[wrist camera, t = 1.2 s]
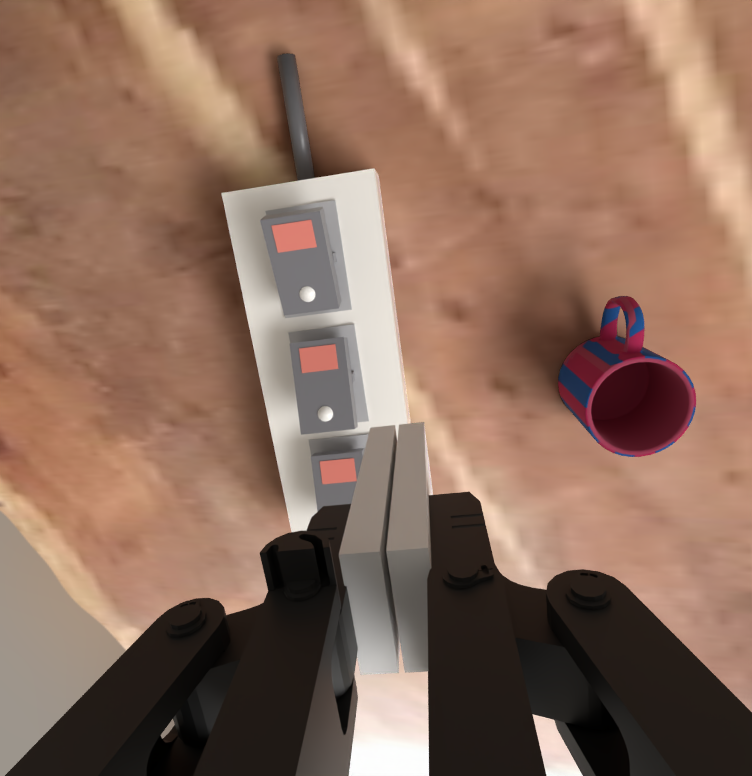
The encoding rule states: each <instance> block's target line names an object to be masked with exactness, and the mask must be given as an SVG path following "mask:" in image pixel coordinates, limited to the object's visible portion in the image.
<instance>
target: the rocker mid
mask: <svg viewBox="0 0 752 776" xmlns="http://www.w3.org/2000/svg"><path fill="white" fill-rule="evenodd" d="M290 352H291V360H292V368H293V376H294V384H295V392H296V400H297V408H298V415H299V423H300V431H301V435H304V434H313V433H323V432H332V431H342V430H351V429H356V428H357V427H358V423H357V414H356V406H355V398H354V390H353V381H352V373H351V365H350V356H349V348H348V340H347V337H338V338H330V339H323V340H315V341H307V342H299V343H291V344H290Z"/></svg>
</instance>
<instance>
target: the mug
mask: <svg viewBox="0 0 752 776" xmlns="http://www.w3.org/2000/svg"><path fill="white" fill-rule="evenodd" d="M620 307H621V308H622V310H623V312H624V315H625V320H626V339H625V338H622V337H618V336H617V320H618V314H619V310H620ZM643 341H644V318H643V313H642V310H641V308H640V306H639V305H638V303H637V302H636V301H635V300H634V299H633V298H631V297H628V296H619V297H615V298H611V299H610V300H609V301H608V302H607V304H606V306H605V309H604V312H603V317H602V323H601V330H600V337H595V338H592V339H590V340H587V341H585V342H584V343H582V344H580V345H579V346H577V347H576V348H575V349H574V350H573V351H572V352H571V353H570V354H569V355H568V356H567V358H566V359H565V361H564V362H563V365H562V367H561V369H560V373H559V377H558V387H559V393H560V396H561V399H562V400H563V402H564V404H565V405H566V407H567V408H568V409H569V410H570V411H571V412H572V413H573V415H574V416H575V417H576V418H577V419H578V420H579V422H580V423H581V424H582V425H583V426H584V427H585V429H586V430H587V431H588V432H589V433H590V434H591V435H592V437H593V438H594V439H595V440H596V441H597V442H598V444H600V445H601V446H602V447H604V448H605V449H607V450H609V451H611V452H612V453H615V454H619V455H622V456H629V457H641V456H646V455H651V454H654V453H657V452H660V451H662V450H664V449H666V448H668V447H669V446H670V445H672V444H673V443H675V442H676V441H677V440H678V439H679V438H680V437H681V436H682V435H683V434H684V432H685V431H686V430H687V428H688V427H689V425H690V423H691V421H692V419H693V416H694V413H695V407H696V393H695V389H694V386H693V383H692V381H691V379H690V378H689V376H688V375H687V374H686V372H685V371H684V370H683V369H682V368H680V367H679V366H678V365H677V364H675V363H673V362H671V361H669V360H668V359H666V358H664V357H662V356H660V355H658V354H656V353H654V352H652V351H650V350H648V349H646V348H644V347H642V346H643Z"/></svg>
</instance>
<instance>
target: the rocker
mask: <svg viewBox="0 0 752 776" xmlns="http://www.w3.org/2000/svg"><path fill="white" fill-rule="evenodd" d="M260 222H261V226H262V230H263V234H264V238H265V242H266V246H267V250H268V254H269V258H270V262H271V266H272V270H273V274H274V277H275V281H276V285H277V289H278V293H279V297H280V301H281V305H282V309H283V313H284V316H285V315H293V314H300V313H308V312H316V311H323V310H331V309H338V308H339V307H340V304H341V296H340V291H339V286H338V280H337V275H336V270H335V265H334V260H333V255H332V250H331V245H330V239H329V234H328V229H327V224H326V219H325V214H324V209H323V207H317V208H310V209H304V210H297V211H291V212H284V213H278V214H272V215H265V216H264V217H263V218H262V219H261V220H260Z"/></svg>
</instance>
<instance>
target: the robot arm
mask: <svg viewBox="0 0 752 776" xmlns="http://www.w3.org/2000/svg"><path fill="white" fill-rule="evenodd" d="M260 556H261V561H262V565H263V570H264V574H265V578H266V583H267V587H268V593H267V595H266V598H265V600H264V603H262V604H260V605H258V606H255V607H252V608H250V609H246V610H243V611H239V612H236V613H232V614H229V615H226V613H225V609H224V607H223V606H222V604H221V603H220V602H219V601H217V600H214V599H211V598H198V599H193V600H190V601H185V602H183V603H180V604H179V605H177V606H175V607H173V608H171V609H169V610H168V611H166V612H165V613H164V614H163V615H161V616H160V617H159V618H158V619H157V620H156V621H155V622H154V623H153V624H152V625H151V626H150V627H149V628H148V629H147V630H146V631H145V632H144V633H143V634H142V635H141V636H140V637H139V638H138V639H137V640H136V641H135V642H134V643H133V644H132V645H131V646H130V647H129V648H128V650H127V651H126V652H125V653H124V654H123V655H122V656H121V657H120V658H119V659H118V660H117V661H116V662H115V663H114V664H113V665H112V666H111V667H110V668H109V669H108V670H107V671H106V672H105V673H104V674H103V675H102V676H101V677H100V678H99V679H98V680H97V681H96V682H95V684H94V685H93V686H92V687H91V688H90V689H89V690H88V691H87V692H86V693H85V694H84V695H83V696H82V697H81V698H80V699H79V700H78V701H77V702H76V703H75V704H74V705H73V706H72V707H71V708H70V709H69V710H68V711H67V712H66V714H64V716H62V717H61V718H60V720H59V721H58V722H57V723H56V724H55V725H54V726H53V727H52V728H51V729H50V730H49V731H48V732H47V733H46V734H45V735H44V736H43V737H42V738H41V739H40V740H39V741H38V742H37V743H36V744H35V745H34V746H33V747H32V748H31V749H30V750H29V751H28V752H27V754H26V755H24V757H23V758H22V759H21V760H20V761H19V762H18V763H17V764H16V765H15V766H14V767H13V768H12V769H11V770H10V771H9V772H8V773H7V774H6V775H5V776H349V767H350V759H351V751H352V742H353V734H354V726H355V717H356V709H357V700H358V695H357V687H356V681H355V676H354V672H355V665H356V658H358V664H359V669H360V675H366V674H386V673H399V655H400V644H401V650H402V657H403V663H404V670H405V673H406V672H425V671H428V705H429V776H546V772H545V768H544V764H543V759H542V755H541V750H540V746H539V741H538V737H537V733H536V728H535V724H534V719H533V715H532V714H534V715H538V716H542V717H546V718H550V719H554V720H555V723H556V726H557V730H558V731H559V733H560V735H561V737H562V739H563V740H564V742H565V744H566V746H567V748H568V749H569V751H570V753H571V755H572V757H573V759H574V760H575V762H576V764H577V766H578V768H579V769H580V771H581V773H582V775H583V776H752V712H751V711H750V710H749V709H748V708H747V707H746V706H745V705H744V704H743V703H742V702H741V701H740V700H739V699H738V698H737V697H736V696H735V695H734V694H733V693H732V692H731V691H730V690H729V689H728V688H727V687H726V686H725V685H724V684H723V683H722V682H721V681H720V680H719V679H718V678H717V677H716V676H715V675H714V674H713V673H712V672H711V671H710V670H709V669H708V668H707V667H706V666H705V665H704V664H703V663H702V662H701V661H700V660H699V659H698V658H697V657H696V656H695V655H694V654H693V653H692V652H691V651H690V650H689V649H688V648H687V647H686V646H685V645H684V644H683V643H682V642H681V641H680V640H679V639H678V638H677V637H676V636H675V635H674V634H673V633H672V632H671V631H670V630H669V629H668V628H667V627H666V626H665V625H664V624H663V623H662V622H661V621H660V620H659V619H658V618H657V617H656V616H655V615H654V614H653V613H652V612H651V611H650V610H649V609H648V608H647V607H646V606H645V605H644V604H643V603H642V602H641V601H640V600H639V599H638V598H637V597H636V596H635V595H634V594H633V593H632V592H631V591H630V590H629V589H628V588H627V587H626V586H625V585H624V584H622V583H621V582H620V581H618V580H617V579H615V578H614V577H612V576H609V575H606V574H604V573H601V572H598V571H591V570H583V569H582V570H571V571H566V572H564V573H561V574H558V575H556V576H555V577H554V578H553V579H552V580H551V581H550V582H549V583H548V585H547V590H544V589H538V588H531V587H527V586H523V585H519V584H517V583H515V582H512V581H510V580H509V579H507V578H506V577H504V576H503V575H502V574H501V573H500V572H499V570H498V569H497V567H496V565H495V563H494V559H493V555H492V551H491V546H490V542H489V538H488V533H487V529H486V526H485V520H484V516H483V512H482V507H481V503H480V501H479V500H478V499H477V498H476V497H474V496H473V495H472V494H471V493H470V492H461V493H450V494H439V495H433V491H432V483H431V474H430V466H429V458H428V450H427V442H426V433H425V425H424V422H419V423H409V424H400V425H399V430H398V440H397V436H396V428H395V425H390V426H381V427H371V428H370V431H369V435H368V439H367V443H366V447H365V451H364V455H363V459H362V463H361V467H360V471H359V475H358V479H357V483H356V487H355V491H354V495H353V499H352V503H351V504H343V505H332V506H323V507H322V508H321V509H320V510H319V511H318V512H317V513H316V514H315V515H313V516H312V517H311V520H310V522H309V525H308V528H307V531H297V532H291V533H287V534H285V535H282V536H280V537H277V538H275V539H274V540H273V541H271V542H270V543H268V544H267V545H266V546H265V547H264V548H263V549H262V551H261V552H260ZM172 719H173V720H174V723H175V725H174V727H173V728H172V730H171V731H170V732H169V733H168V734H167V735H166V736H165V737H164V738H163V739H162V738H161V733H162V732H163V731H164V730H165V728H166V727H167V726H168V724H169V723H170V721H171V720H172Z"/></svg>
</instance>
